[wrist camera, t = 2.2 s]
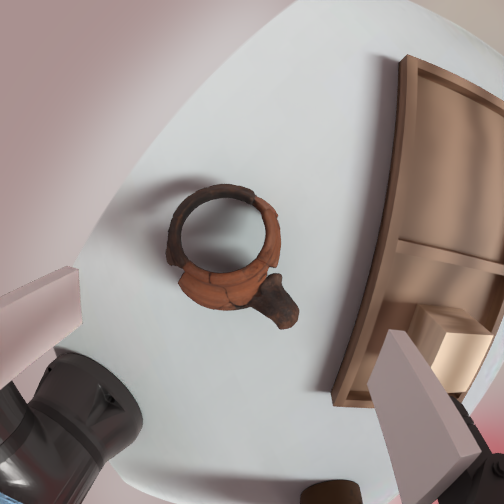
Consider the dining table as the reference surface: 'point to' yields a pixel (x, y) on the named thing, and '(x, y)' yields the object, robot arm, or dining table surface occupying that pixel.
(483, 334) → the beech block
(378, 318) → the walnut tray
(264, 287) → the pottery mug
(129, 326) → the dining table surface
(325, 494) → the olive oil
